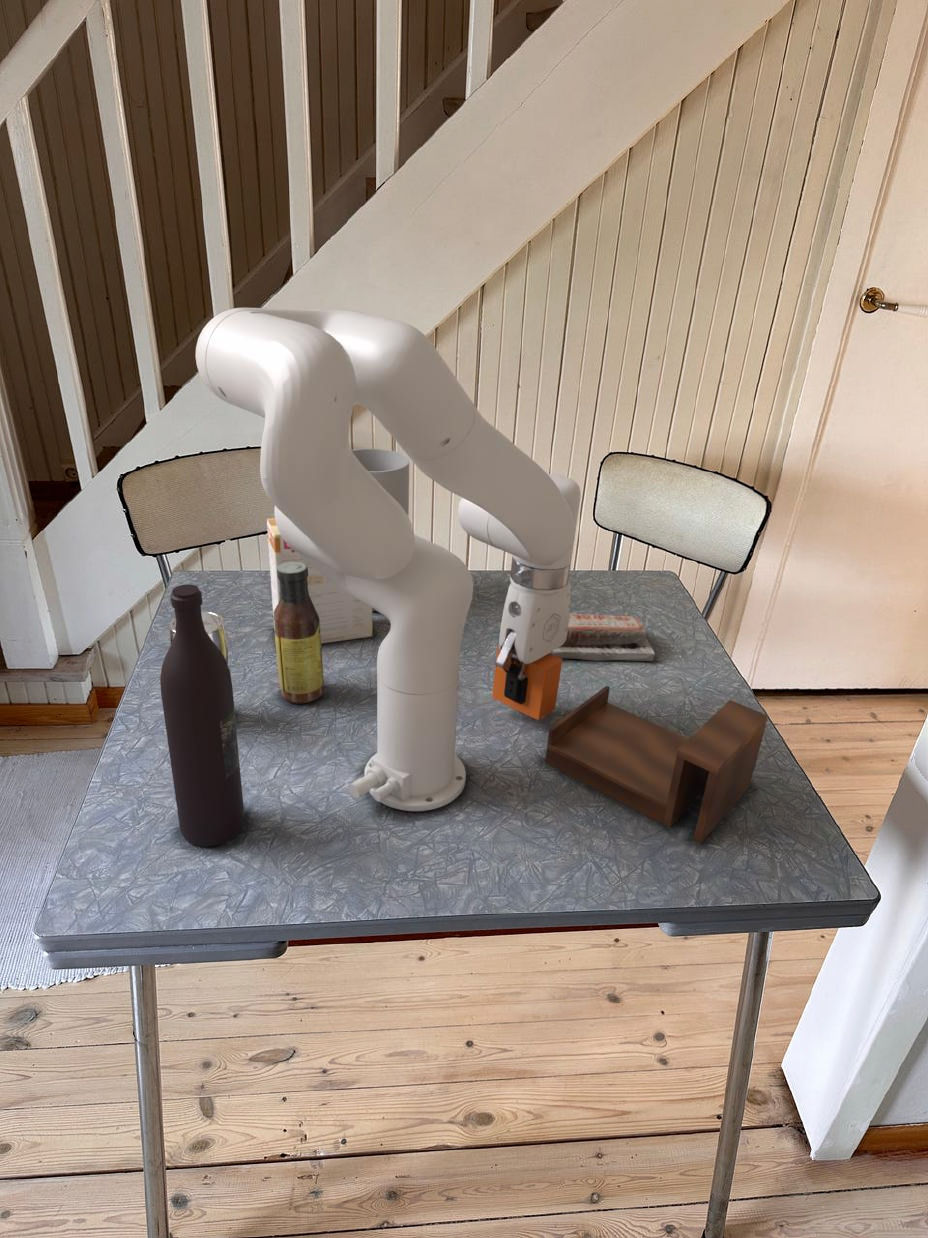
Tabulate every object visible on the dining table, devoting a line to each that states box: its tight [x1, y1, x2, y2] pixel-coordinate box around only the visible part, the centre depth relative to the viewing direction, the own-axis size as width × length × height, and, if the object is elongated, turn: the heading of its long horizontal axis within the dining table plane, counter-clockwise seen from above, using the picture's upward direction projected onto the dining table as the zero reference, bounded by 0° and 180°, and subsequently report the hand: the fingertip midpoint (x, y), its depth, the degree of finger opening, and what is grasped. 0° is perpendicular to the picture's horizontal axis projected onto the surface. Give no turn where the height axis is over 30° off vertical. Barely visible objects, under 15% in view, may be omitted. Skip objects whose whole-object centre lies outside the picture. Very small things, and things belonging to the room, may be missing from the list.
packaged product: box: [552, 613, 656, 662], centre depth 136 cm, size 18×5×10 cm
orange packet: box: [491, 646, 563, 721], centre depth 115 cm, size 4×8×8 cm, turn 50°
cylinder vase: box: [351, 448, 410, 612], centre depth 143 cm, size 12×12×25 cm
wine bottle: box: [159, 584, 245, 847], centre depth 89 cm, size 7×7×30 cm
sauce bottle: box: [273, 562, 325, 704], centre depth 116 cm, size 6×6×20 cm
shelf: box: [544, 685, 769, 844], centre depth 105 cm, size 14×22×11 cm, turn 50°
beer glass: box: [169, 610, 229, 666], centre depth 110 cm, size 7×7×15 cm
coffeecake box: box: [266, 517, 374, 644], centre depth 132 cm, size 15×7×20 cm, turn 111°
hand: (524, 692), depth 116 cm, fingers closed on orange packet, 4 cm apart
